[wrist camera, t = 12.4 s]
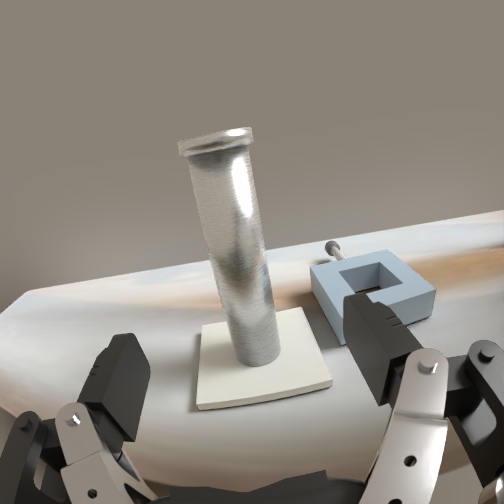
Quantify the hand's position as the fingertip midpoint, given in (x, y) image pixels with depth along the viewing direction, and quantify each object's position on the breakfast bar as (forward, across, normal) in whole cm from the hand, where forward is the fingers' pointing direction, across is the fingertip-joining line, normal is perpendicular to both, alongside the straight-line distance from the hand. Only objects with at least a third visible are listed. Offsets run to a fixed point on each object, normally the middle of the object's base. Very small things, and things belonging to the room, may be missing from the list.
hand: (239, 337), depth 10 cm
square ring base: (+17, -12, +10) cm, 24 cm away
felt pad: (+10, 0, +10) cm, 14 cm away
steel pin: (+10, 0, +10) cm, 14 cm away
